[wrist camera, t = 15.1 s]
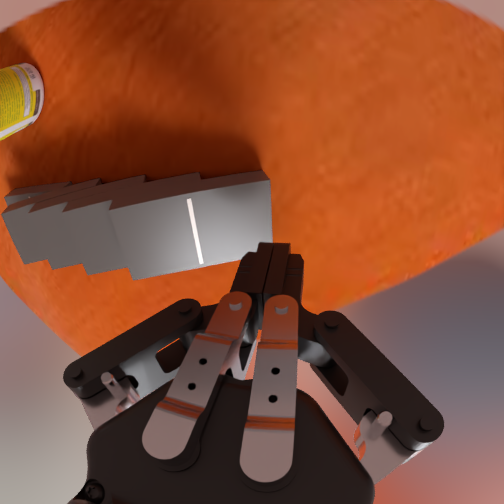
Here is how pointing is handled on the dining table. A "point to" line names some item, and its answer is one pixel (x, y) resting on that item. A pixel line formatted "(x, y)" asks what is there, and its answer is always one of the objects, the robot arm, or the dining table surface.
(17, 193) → the end tile
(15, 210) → the tile
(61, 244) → the tile
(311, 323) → the robot arm
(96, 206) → the tile
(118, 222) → the lead tile
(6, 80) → the supplement bottle
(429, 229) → the dining table surface
